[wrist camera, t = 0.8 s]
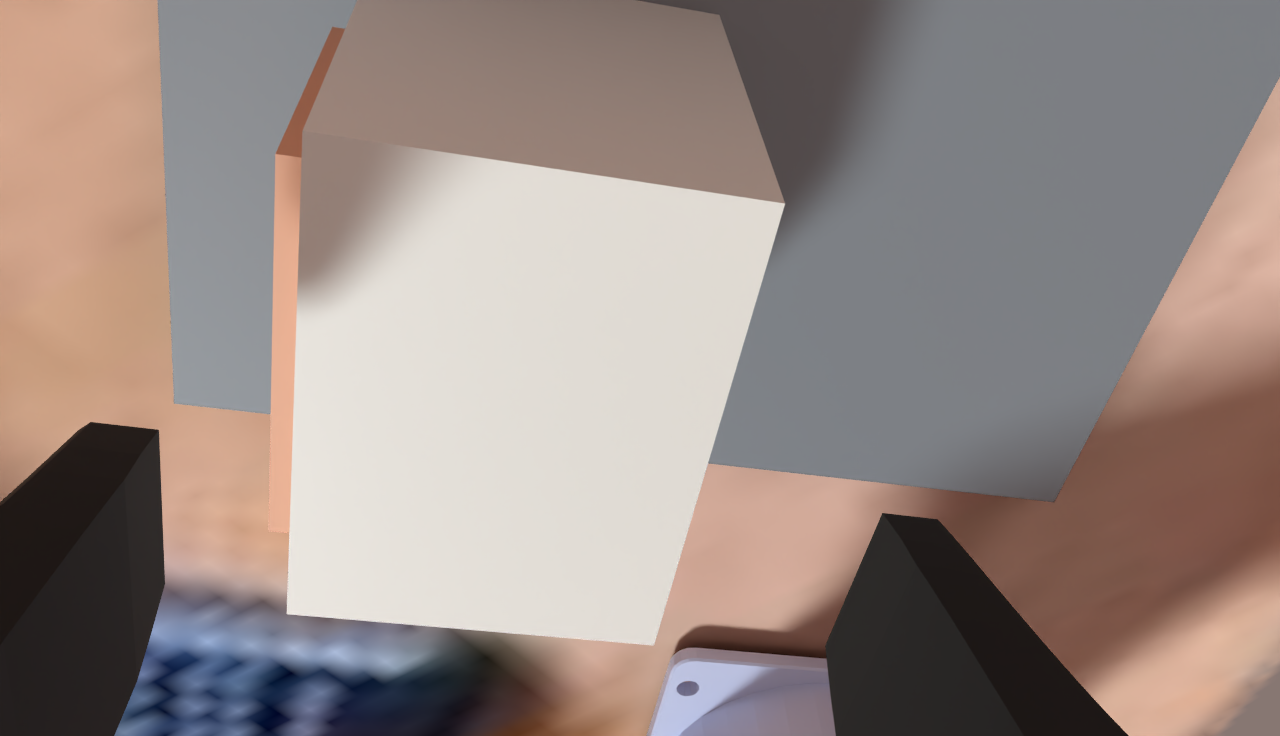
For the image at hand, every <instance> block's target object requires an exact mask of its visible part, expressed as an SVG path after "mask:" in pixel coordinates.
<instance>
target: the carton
mask: <svg viewBox="0 0 1280 736" xmlns="http://www.w3.org/2000/svg"><path fill="white" fill-rule="evenodd" d="M784 206H785V202H784V199H783V196H782V193H781V190H780V187H779V184H778V182H777V179H776V176H775V173H774V170H773V167H772V164H771V162H770V159H769V156H768V153H767V150H766V147H765V144H764V142H763V139H762V136H761V133H760V130H759V127H758V124H757V121H756V119H755V116H754V113H753V110H752V107H751V104H750V101H749V99H748V96H747V93H746V90H745V87H744V84H743V81H742V78H741V76H740V73H739V70H738V67H737V64H736V61H735V58H734V56H733V53H732V50H731V47H730V44H729V41H728V38H727V35H726V33H725V30H724V27H723V24H722V21H721V18H720V15H717V14H712V13H706V12H700V11H695V10H689V9H683V8H678V7H672V6H666V5H661V4H655V3H649V2H644V1H638V0H357V2H356V4H355V7H354V9H353V12H352V14H351V16H350V19H349V21H348V23H347V26H346V28H345V29H343V28H337V27H332V29H331V31H330V33H329V35H328V38H327V40H326V42H325V44H324V46H323V49H322V51H321V53H320V55H319V58H318V60H317V62H316V64H315V67H314V69H313V71H312V73H311V75H310V78H309V80H308V82H307V84H306V87H305V89H304V91H303V93H302V96H301V98H300V100H299V102H298V105H297V107H296V109H295V111H294V113H293V116H292V118H291V120H290V122H289V125H288V127H287V129H286V131H285V134H284V136H283V138H282V140H281V142H280V145H279V147H278V149H277V151H276V154H275V202H274V256H273V311H272V366H271V421H270V475H269V530H268V531H272V532H282V533H289V563H288V594H287V614H292V615H304V616H316V617H327V618H339V619H351V620H362V621H374V622H386V623H397V624H409V625H421V626H433V627H444V628H456V629H468V630H479V631H491V632H503V633H515V634H526V635H538V636H550V637H561V638H573V639H585V640H596V641H608V642H620V643H632V644H643V645H654V643H655V640H656V637H657V633H658V630H659V626H660V623H661V620H662V616H663V613H664V610H665V606H666V603H667V600H668V596H669V593H670V589H671V586H672V583H673V579H674V576H675V573H676V569H677V566H678V563H679V559H680V556H681V552H682V549H683V546H684V542H685V539H686V536H687V532H688V529H689V526H690V522H691V519H692V515H693V512H694V509H695V505H696V502H697V499H698V495H699V492H700V489H701V485H702V482H703V478H704V475H705V472H706V468H707V465H708V462H709V458H710V455H711V452H712V448H713V445H714V441H715V438H716V435H717V431H718V428H719V425H720V421H721V418H722V414H723V411H724V408H725V404H726V401H727V398H728V394H729V391H730V388H731V384H732V381H733V377H734V374H735V371H736V367H737V364H738V361H739V357H740V354H741V351H742V347H743V344H744V340H745V337H746V334H747V330H748V327H749V324H750V320H751V317H752V314H753V310H754V307H755V303H756V300H757V297H758V293H759V290H760V287H761V283H762V280H763V277H764V273H765V270H766V266H767V263H768V260H769V256H770V253H771V250H772V246H773V243H774V240H775V236H776V233H777V229H778V226H779V223H780V219H781V216H782V213H783V209H784Z"/></svg>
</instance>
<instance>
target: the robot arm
mask: <svg viewBox="0 0 1280 736" xmlns="http://www.w3.org/2000/svg"><path fill="white" fill-rule="evenodd" d="M164 585H165V575H164V550H163V525H162V500H161V475H160V449H159V430H154V429H146V428H137V427H128V426H120V425H111V424H102V423H94V422H90V423H89V424H87V425H86V426H84V427H83V428H81V429H80V430H78V431H77V432H76V433H75V434H74V435H73V436H72V437H71V438H70V439H69V440H68V441H66V442H65V443H64V444H63V445H62V446H61V447H60V448H59V449H58V450H57V451H56V452H55V453H54V454H52V455H51V456H50V457H49V458H48V459H47V460H46V461H45V462H44V463H43V464H42V465H41V466H40V467H38V468H37V469H36V470H35V471H34V472H33V473H32V474H31V475H30V476H29V477H28V478H27V479H25V480H24V481H23V482H22V483H21V484H20V485H19V486H18V487H17V488H16V489H14V490H13V491H12V492H11V493H10V494H9V495H8V496H7V497H6V498H4V499H3V500H2V501H1V502H0V736H114V735H115V732H116V730H117V728H118V725H119V723H120V720H121V718H122V716H123V713H124V711H125V709H126V706H127V704H128V701H129V699H130V696H131V694H132V692H133V689H134V687H135V684H136V682H137V679H138V676H139V672H140V669H141V666H142V662H143V659H144V655H145V652H146V649H147V645H148V642H149V639H150V635H151V632H152V628H153V624H154V621H155V617H156V614H157V610H158V606H159V603H160V599H161V596H162V592H163V588H164ZM825 648H826V657H827V659H824V658H812V657H801V656H789V655H777V654H766V653H754V652H742V651H731V650H719V649H707V648H686V649H683V650H680V651H678V652H677V653H676V654H674V655H673V656H672V658H671V660H670V662H669V665H668V668H667V672H666V675H665V678H664V681H663V684H662V688H661V691H660V694H659V697H658V700H657V704H656V707H655V710H654V713H653V716H652V720H651V723H650V726H649V729H648V732H647V736H1128V735H1127V734H1126V733H1125V732H1124V731H1123V730H1122V728H1121V727H1120V726H1119V725H1118V724H1117V723H1116V722H1115V721H1114V720H1113V719H1112V718H1111V717H1110V716H1109V715H1108V714H1107V713H1106V712H1105V711H1104V710H1103V709H1102V707H1101V706H1100V705H1099V704H1098V703H1097V702H1096V701H1095V700H1094V699H1093V698H1092V697H1091V696H1090V694H1089V693H1088V692H1087V691H1086V690H1085V689H1084V688H1083V687H1082V686H1081V685H1080V684H1079V682H1078V681H1077V680H1076V679H1075V678H1074V677H1073V676H1072V675H1071V673H1070V672H1069V671H1068V670H1067V669H1066V668H1065V667H1064V666H1063V664H1062V663H1061V662H1060V661H1059V660H1058V659H1057V658H1056V657H1055V655H1054V654H1053V653H1052V652H1051V651H1050V650H1049V649H1048V647H1047V646H1046V645H1045V644H1044V643H1043V642H1042V640H1041V639H1040V638H1039V637H1038V636H1037V635H1036V634H1035V632H1034V631H1033V630H1032V629H1031V628H1030V627H1029V625H1028V624H1027V623H1026V622H1025V621H1024V620H1023V618H1022V617H1021V616H1020V615H1019V614H1018V612H1017V611H1016V610H1015V609H1014V608H1013V607H1012V605H1011V604H1010V603H1009V602H1008V601H1007V599H1006V598H1005V597H1004V596H1003V595H1002V594H1001V592H1000V591H999V590H998V589H997V588H996V586H995V585H994V584H993V583H992V582H991V581H990V579H989V578H988V577H987V576H986V575H985V573H984V572H983V571H982V570H981V569H980V567H979V566H978V565H977V564H976V563H975V562H974V560H973V559H972V558H971V557H970V556H969V554H968V553H967V552H966V551H965V550H964V549H963V547H962V546H961V545H960V544H959V543H958V542H957V541H956V539H955V538H954V537H953V536H952V535H951V534H950V533H949V532H948V530H947V529H946V528H945V527H944V526H943V525H942V524H941V523H940V522H939V521H938V520H937V519H928V518H920V517H911V516H902V515H894V514H885V513H882V516H881V518H880V520H879V523H878V525H877V527H876V530H875V532H874V534H873V537H872V539H871V541H870V544H869V546H868V548H867V550H866V553H865V555H864V557H863V560H862V562H861V564H860V567H859V569H858V571H857V574H856V576H855V578H854V581H853V583H852V585H851V588H850V590H849V592H848V595H847V597H846V599H845V601H844V604H843V606H842V608H841V611H840V613H839V615H838V618H837V620H836V622H835V625H834V627H833V629H832V632H831V634H830V636H829V639H828V641H827V643H826V646H825ZM685 681H690V682H685Z"/></svg>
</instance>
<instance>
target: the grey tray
mask: <svg viewBox="0 0 1280 736" xmlns="http://www.w3.org/2000/svg"><path fill="white" fill-rule="evenodd" d="M638 1H644V2H649V3H655V4H661V5H666V6H672V7H678V8H683V9H689V10H695V11H700V12H706V13H712V14H717V15H720V18H721V21H722V24H723V27H724V30H725V33H726V35H727V38H728V41H729V44H730V47H731V50H732V53H733V56H734V58H735V61H736V64H737V67H738V70H739V73H740V76H741V78H742V81H743V84H744V87H745V90H746V93H747V96H748V99H749V101H750V104H751V107H752V110H753V113H754V116H755V119H756V121H757V124H758V127H759V130H760V133H761V136H762V139H763V142H764V144H765V147H766V150H767V153H768V156H769V159H770V162H771V164H772V167H773V170H774V173H775V176H776V179H777V182H778V184H779V187H780V190H781V193H782V196H783V199H784V202H785V206H784V209H783V213H782V216H781V219H780V223H779V226H778V229H777V233H776V236H775V240H774V243H773V246H772V250H771V253H770V256H769V260H768V263H767V266H766V270H765V273H764V277H763V280H762V283H761V287H760V290H759V293H758V297H757V300H756V303H755V307H754V310H753V314H752V317H751V320H750V324H749V327H748V330H747V334H746V337H745V340H744V344H743V347H742V351H741V354H740V357H739V361H738V364H737V367H736V371H735V374H734V377H733V381H732V384H731V388H730V391H729V394H728V398H727V401H726V404H725V408H724V411H723V414H722V418H721V421H720V425H719V428H718V431H717V435H716V438H715V441H714V445H713V448H712V452H711V455H710V458H709V462H708V463H709V464H718V465H727V466H736V467H745V468H754V469H763V470H772V471H781V472H790V473H799V474H808V475H817V476H825V477H834V478H843V479H852V480H861V481H870V482H879V483H888V484H897V485H906V486H915V487H924V488H932V489H941V490H950V491H959V492H968V493H977V494H986V495H995V496H1004V497H1013V498H1022V499H1031V500H1039V501H1048V502H1054V501H1055V499H1056V497H1057V496H1058V494H1059V492H1060V490H1061V488H1062V486H1063V484H1064V482H1065V480H1066V479H1067V477H1068V475H1069V473H1070V471H1071V469H1072V467H1073V465H1074V464H1075V462H1076V460H1077V458H1078V456H1079V454H1080V452H1081V450H1082V448H1083V447H1084V445H1085V443H1086V441H1087V439H1088V437H1089V435H1090V433H1091V431H1092V430H1093V428H1094V426H1095V424H1096V422H1097V420H1098V418H1099V416H1100V415H1101V413H1102V411H1103V409H1104V407H1105V405H1106V403H1107V401H1108V399H1109V398H1110V396H1111V394H1112V392H1113V390H1114V388H1115V386H1116V384H1117V382H1118V381H1119V379H1120V377H1121V375H1122V373H1123V371H1124V369H1125V367H1126V366H1127V364H1128V362H1129V360H1130V358H1131V356H1132V354H1133V352H1134V350H1135V349H1136V347H1137V345H1138V343H1139V341H1140V339H1141V337H1142V335H1143V333H1144V332H1145V330H1146V328H1147V326H1148V324H1149V322H1150V320H1151V318H1152V317H1153V315H1154V313H1155V311H1156V309H1157V307H1158V305H1159V303H1160V301H1161V300H1162V298H1163V296H1164V294H1165V292H1166V290H1167V288H1168V286H1169V284H1170V283H1171V281H1172V279H1173V277H1174V275H1175V273H1176V271H1177V269H1178V268H1179V266H1180V264H1181V262H1182V260H1183V258H1184V256H1185V254H1186V252H1187V251H1188V249H1189V247H1190V245H1191V243H1192V241H1193V239H1194V237H1195V235H1196V234H1197V232H1198V230H1199V228H1200V226H1201V224H1202V222H1203V220H1204V219H1205V217H1206V215H1207V213H1208V211H1209V209H1210V207H1211V205H1212V203H1213V202H1214V200H1215V198H1216V196H1217V194H1218V192H1219V190H1220V188H1221V186H1222V185H1223V183H1224V181H1225V179H1226V177H1227V175H1228V173H1229V171H1230V170H1231V168H1232V166H1233V164H1234V162H1235V160H1236V158H1237V156H1238V154H1239V153H1240V151H1241V149H1242V147H1243V145H1244V143H1245V141H1246V139H1247V138H1248V136H1249V134H1250V132H1251V130H1252V128H1253V126H1254V124H1255V122H1256V121H1257V119H1258V117H1259V115H1260V113H1261V111H1262V109H1263V107H1264V105H1265V104H1266V102H1267V100H1268V98H1269V96H1270V94H1271V92H1272V90H1273V89H1274V87H1275V85H1276V83H1277V81H1278V79H1279V77H1280V0H638ZM356 2H357V0H158V20H159V45H160V69H161V94H162V118H163V142H164V167H165V191H166V216H167V240H168V264H169V289H170V313H171V338H172V362H173V386H174V404H183V405H192V406H201V407H210V408H219V409H228V410H237V411H246V412H255V413H264V414H271V366H272V311H273V256H274V202H275V154H276V151H277V149H278V147H279V145H280V142H281V140H282V138H283V136H284V134H285V131H286V129H287V127H288V125H289V122H290V120H291V118H292V116H293V113H294V111H295V109H296V107H297V105H298V102H299V100H300V98H301V96H302V93H303V91H304V89H305V87H306V84H307V82H308V80H309V78H310V75H311V73H312V71H313V69H314V67H315V64H316V62H317V60H318V58H319V55H320V53H321V51H322V49H323V46H324V44H325V42H326V40H327V38H328V35H329V33H330V31H331V29H332V27H337V28H343V29H345V28H346V26H347V23H348V21H349V19H350V16H351V14H352V12H353V9H354V7H355V4H356Z"/></svg>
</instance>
